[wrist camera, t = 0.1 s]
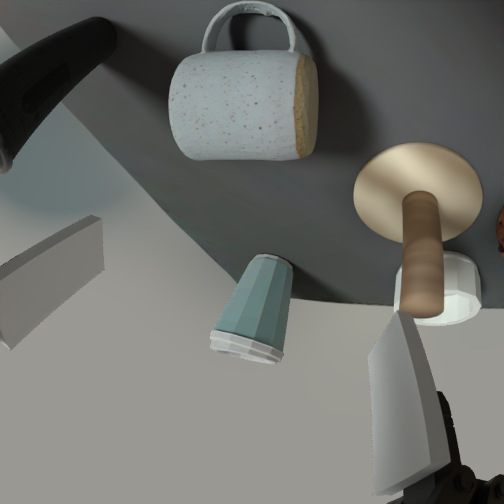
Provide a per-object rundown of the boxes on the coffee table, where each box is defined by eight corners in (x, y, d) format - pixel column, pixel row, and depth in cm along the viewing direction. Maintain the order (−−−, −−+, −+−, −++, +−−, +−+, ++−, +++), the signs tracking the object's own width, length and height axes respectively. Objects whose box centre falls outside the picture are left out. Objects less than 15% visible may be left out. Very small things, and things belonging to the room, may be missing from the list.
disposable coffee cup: (317, 262, 38) (290, 369, 31) (294, 287, 48) (270, 371, 41) (244, 236, 38) (205, 341, 31) (236, 266, 48) (205, 350, 41)
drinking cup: (90, -11, 11) (-119, 166, 2) (143, 34, 15) (-57, 246, 6) (60, 43, 16) (-87, 201, 7) (105, 83, 20) (-33, 257, 11)
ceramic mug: (324, 125, 20) (307, 193, 16) (227, 121, 22) (187, 181, 18) (315, -5, 11) (292, 7, 7) (196, 9, 13) (127, 40, 10)
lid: (382, 117, 17) (386, 238, 12) (504, 180, 16) (532, 297, 11) (337, 216, 29) (318, 314, 24) (436, 250, 27) (434, 343, 22)
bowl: (427, 239, 26) (427, 279, 24) (493, 267, 25) (497, 303, 23) (382, 281, 37) (378, 313, 34) (444, 300, 35) (442, 330, 33)
